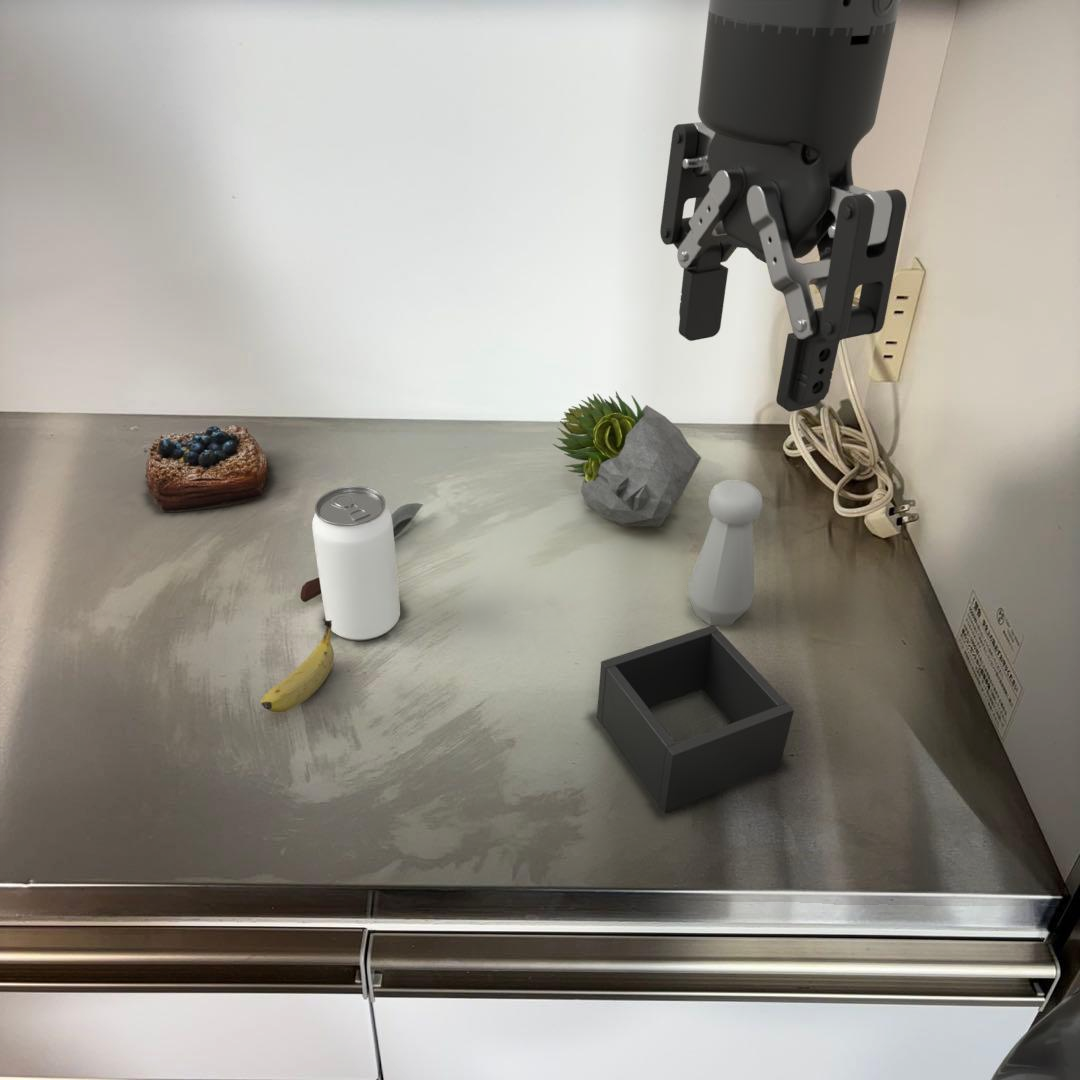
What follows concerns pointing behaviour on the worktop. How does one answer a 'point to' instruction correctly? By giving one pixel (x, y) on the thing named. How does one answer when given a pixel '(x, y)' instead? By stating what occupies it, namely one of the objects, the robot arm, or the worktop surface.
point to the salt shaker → (726, 555)
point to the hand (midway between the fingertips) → (745, 369)
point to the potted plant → (628, 460)
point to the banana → (302, 678)
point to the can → (356, 562)
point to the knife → (399, 522)
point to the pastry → (206, 469)
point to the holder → (706, 757)
